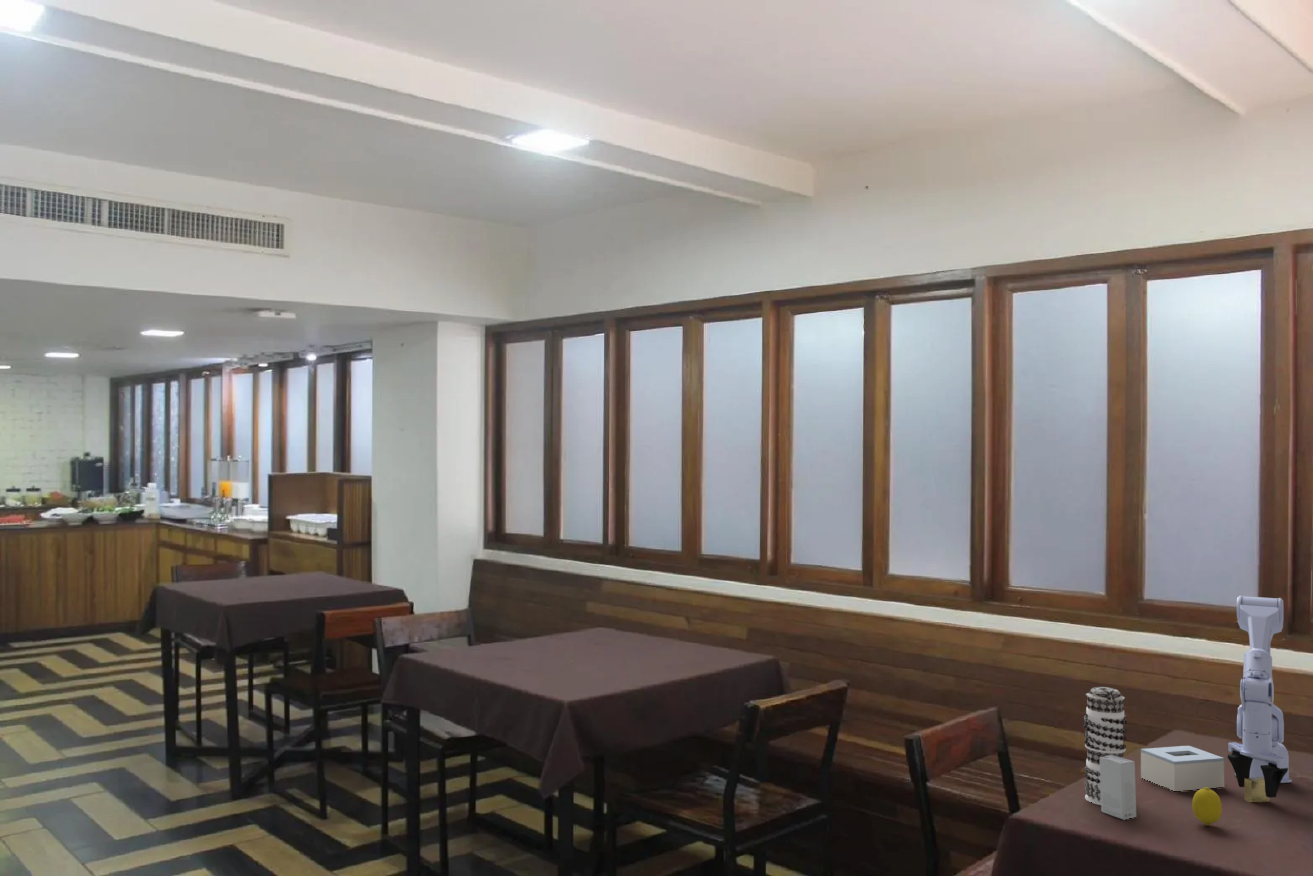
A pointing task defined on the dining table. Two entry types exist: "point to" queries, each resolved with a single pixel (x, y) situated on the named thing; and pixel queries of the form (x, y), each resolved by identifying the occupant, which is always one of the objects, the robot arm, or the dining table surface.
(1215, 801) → the lemon
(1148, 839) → the dining table surface
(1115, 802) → the skincare box
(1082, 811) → the dining table surface
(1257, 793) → the tan wooden block
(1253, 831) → the dining table surface
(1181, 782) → the tissue box
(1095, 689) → the decorative candle
